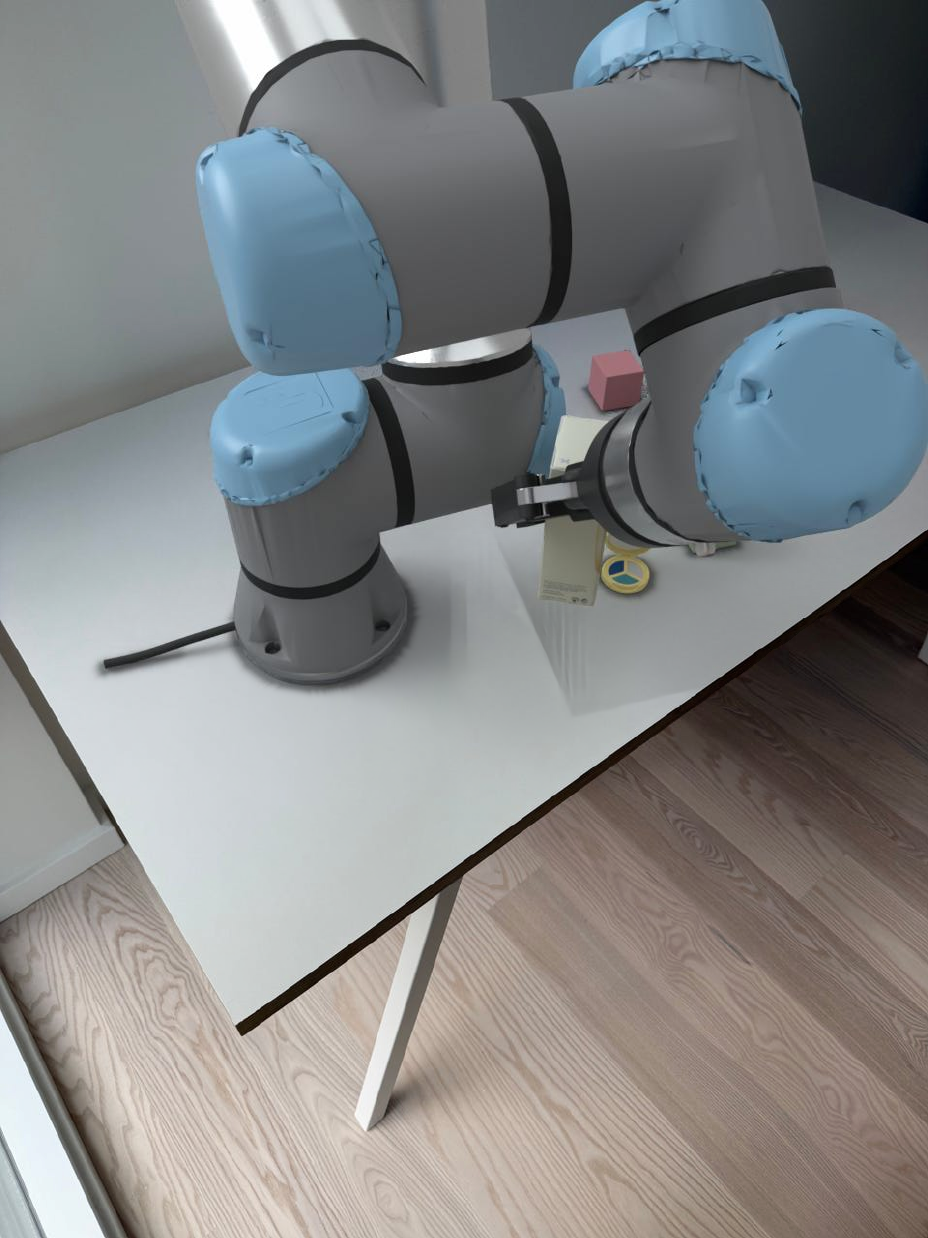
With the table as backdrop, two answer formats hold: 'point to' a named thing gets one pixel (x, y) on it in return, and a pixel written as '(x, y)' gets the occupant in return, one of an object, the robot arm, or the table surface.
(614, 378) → the colored toy blocks
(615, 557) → the eyeshadow
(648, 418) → the robot arm
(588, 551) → the cosmetic box
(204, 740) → the table surface
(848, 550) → the table surface
